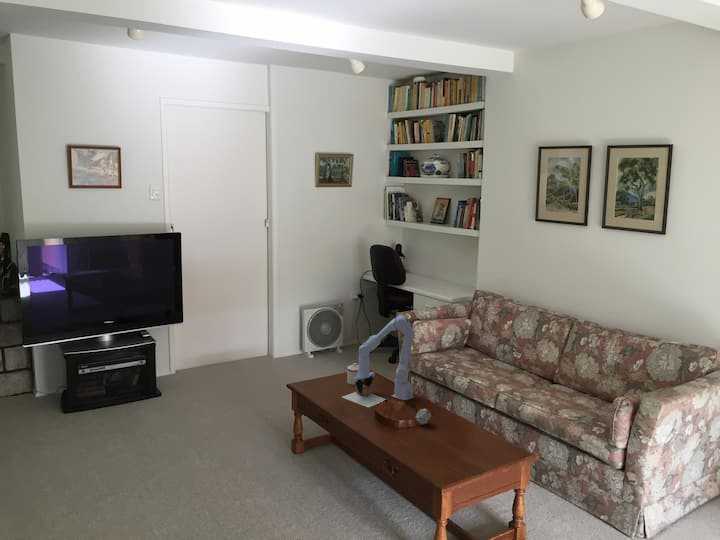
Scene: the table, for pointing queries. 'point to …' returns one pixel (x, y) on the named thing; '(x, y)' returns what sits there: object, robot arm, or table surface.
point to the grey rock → (423, 416)
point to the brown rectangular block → (364, 390)
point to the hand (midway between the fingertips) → (363, 391)
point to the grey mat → (364, 399)
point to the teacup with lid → (352, 373)
